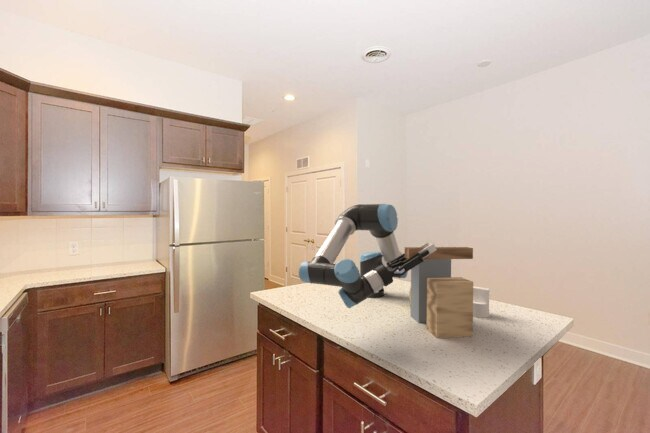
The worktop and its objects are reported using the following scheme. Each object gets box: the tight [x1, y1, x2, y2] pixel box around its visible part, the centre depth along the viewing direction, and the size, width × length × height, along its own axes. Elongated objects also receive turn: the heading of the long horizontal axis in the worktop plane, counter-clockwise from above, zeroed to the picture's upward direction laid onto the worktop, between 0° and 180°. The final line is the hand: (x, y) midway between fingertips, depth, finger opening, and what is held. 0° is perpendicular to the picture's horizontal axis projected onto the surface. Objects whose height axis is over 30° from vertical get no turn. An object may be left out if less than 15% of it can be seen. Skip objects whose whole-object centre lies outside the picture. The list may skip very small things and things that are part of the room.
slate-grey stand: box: [410, 259, 452, 324], centre depth 129 cm, size 8×14×30 cm, turn 98°
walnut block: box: [404, 246, 474, 260], centre depth 113 cm, size 4×25×4 cm, turn 98°
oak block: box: [426, 276, 474, 339], centre depth 114 cm, size 8×14×20 cm, turn 98°
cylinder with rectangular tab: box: [473, 285, 490, 319], centre depth 135 cm, size 9×9×12 cm
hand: (431, 246), depth 113 cm, fingers closed on walnut block, 4 cm apart
